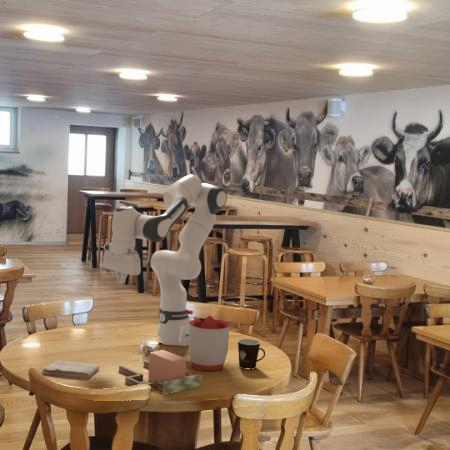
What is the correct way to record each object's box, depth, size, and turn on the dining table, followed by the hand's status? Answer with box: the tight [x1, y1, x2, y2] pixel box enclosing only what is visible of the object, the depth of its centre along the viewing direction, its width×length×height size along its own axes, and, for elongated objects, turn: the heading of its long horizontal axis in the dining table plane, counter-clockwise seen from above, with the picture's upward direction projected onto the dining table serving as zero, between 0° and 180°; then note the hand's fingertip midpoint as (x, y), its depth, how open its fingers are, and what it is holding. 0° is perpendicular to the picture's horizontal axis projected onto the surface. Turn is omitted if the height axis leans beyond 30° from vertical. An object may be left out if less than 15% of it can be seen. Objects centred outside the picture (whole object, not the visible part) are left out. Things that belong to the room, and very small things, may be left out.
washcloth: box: [42, 359, 100, 380], centre depth 245 cm, size 12×18×3 cm, turn 82°
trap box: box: [118, 360, 202, 395], centre depth 243 cm, size 24×29×4 cm
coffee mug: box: [237, 338, 266, 370], centre depth 262 cm, size 12×9×10 cm
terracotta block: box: [147, 349, 187, 382], centre depth 239 cm, size 6×13×10 cm, turn 44°
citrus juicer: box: [188, 315, 231, 371], centre depth 261 cm, size 16×17×20 cm
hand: (121, 283), depth 265 cm, fingers closed
